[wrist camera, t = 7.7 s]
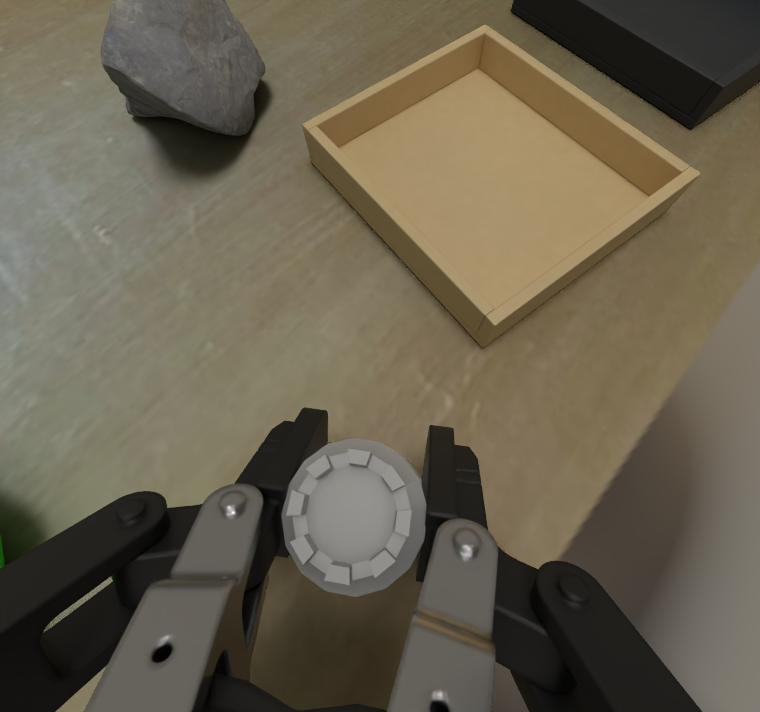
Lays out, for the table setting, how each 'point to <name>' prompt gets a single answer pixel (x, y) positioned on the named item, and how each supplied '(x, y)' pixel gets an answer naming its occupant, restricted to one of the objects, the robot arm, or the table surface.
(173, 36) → the stone
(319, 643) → the table surface
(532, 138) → the birch tray
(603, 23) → the charcoal tray
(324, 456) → the rook chess piece
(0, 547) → the plastic bottle
